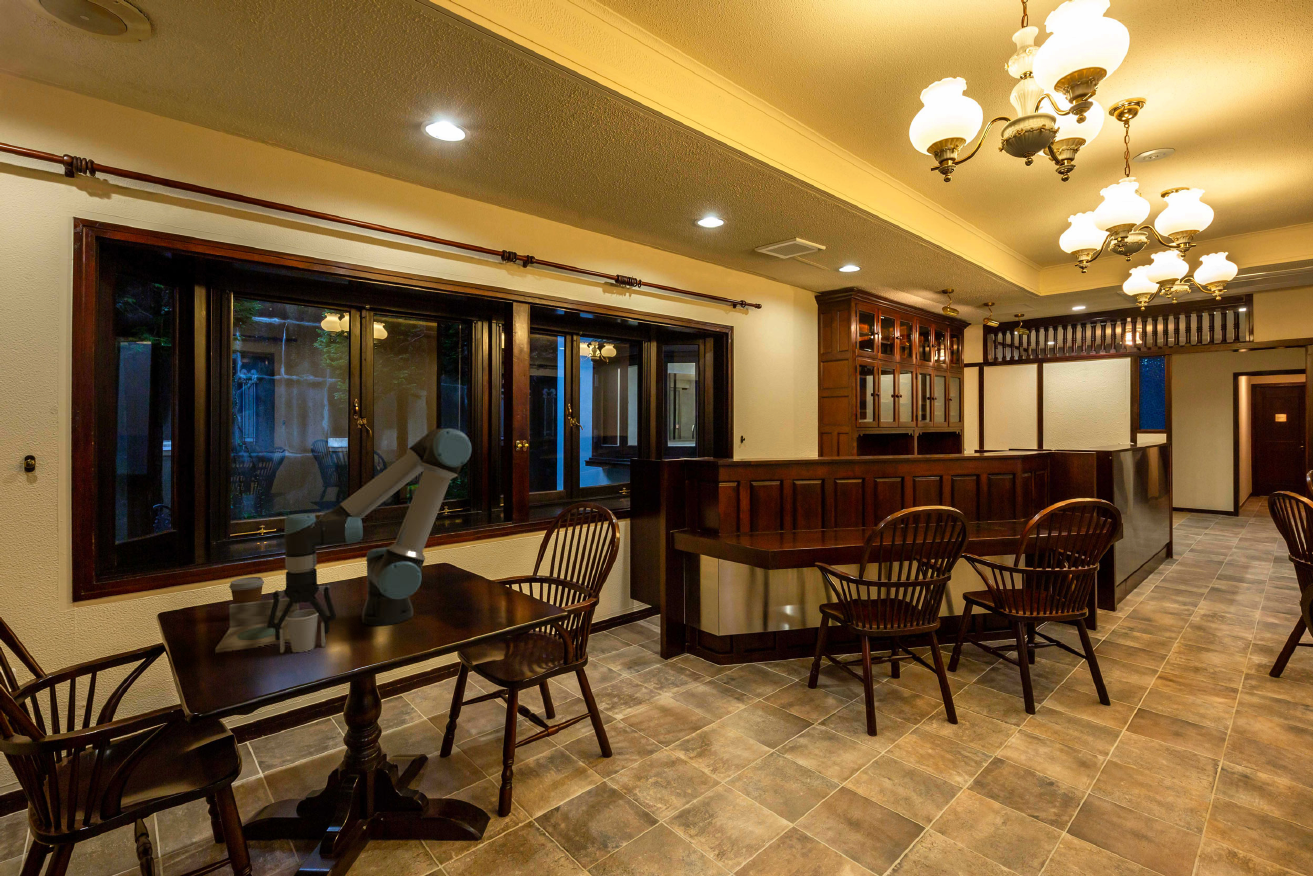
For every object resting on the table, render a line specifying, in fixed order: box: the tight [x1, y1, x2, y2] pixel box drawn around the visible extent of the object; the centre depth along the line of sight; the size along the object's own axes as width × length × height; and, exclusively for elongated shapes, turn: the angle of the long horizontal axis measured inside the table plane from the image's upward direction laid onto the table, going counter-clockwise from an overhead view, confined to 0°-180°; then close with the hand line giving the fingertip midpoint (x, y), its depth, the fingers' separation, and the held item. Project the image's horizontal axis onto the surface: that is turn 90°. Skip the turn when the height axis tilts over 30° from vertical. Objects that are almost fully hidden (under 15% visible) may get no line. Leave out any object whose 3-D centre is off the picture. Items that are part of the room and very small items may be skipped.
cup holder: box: [214, 597, 299, 654], centre depth 180 cm, size 18×20×8 cm
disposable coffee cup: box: [229, 576, 265, 604], centre depth 198 cm, size 10×10×12 cm
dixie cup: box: [286, 608, 319, 653], centre depth 170 cm, size 8×8×10 cm
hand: (303, 648), depth 170 cm, fingers open, 9 cm apart
